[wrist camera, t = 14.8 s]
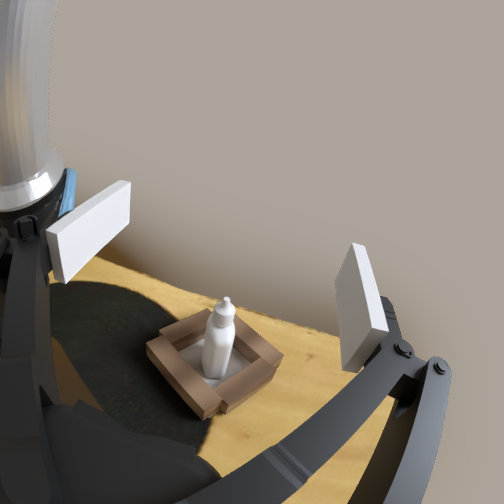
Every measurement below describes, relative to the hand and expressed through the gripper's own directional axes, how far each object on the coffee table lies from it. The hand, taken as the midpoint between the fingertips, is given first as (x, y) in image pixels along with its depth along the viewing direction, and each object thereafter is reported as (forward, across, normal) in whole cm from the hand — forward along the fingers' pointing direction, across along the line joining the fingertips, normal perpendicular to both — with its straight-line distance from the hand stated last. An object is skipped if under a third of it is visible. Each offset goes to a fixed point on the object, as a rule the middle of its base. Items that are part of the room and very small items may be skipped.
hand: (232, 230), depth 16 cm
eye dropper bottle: (+10, 0, -26) cm, 28 cm away
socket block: (+10, 0, -26) cm, 28 cm away
